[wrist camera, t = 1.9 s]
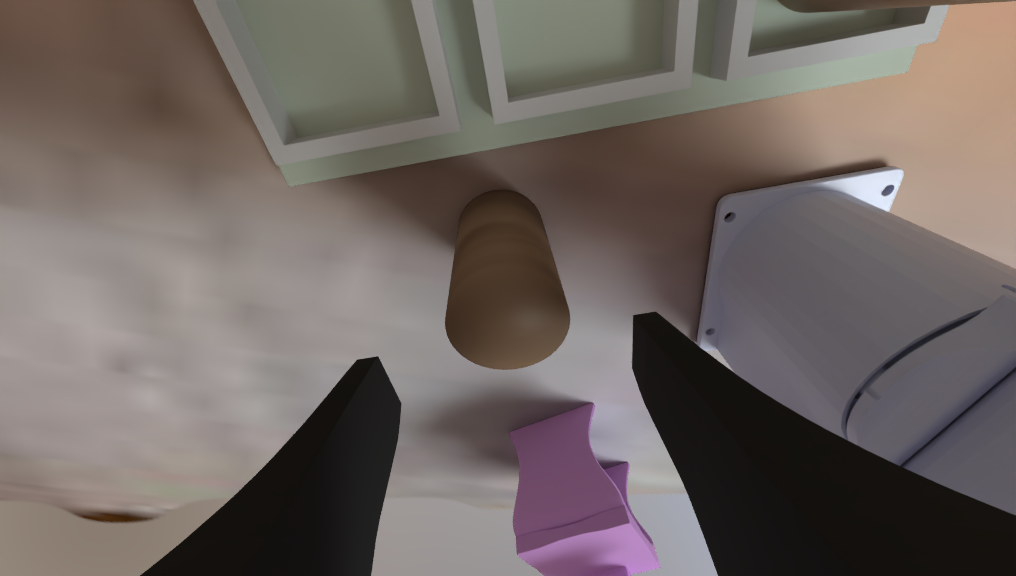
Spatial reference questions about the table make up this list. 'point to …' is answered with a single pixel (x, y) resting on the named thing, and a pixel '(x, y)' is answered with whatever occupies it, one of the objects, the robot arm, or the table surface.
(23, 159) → the table surface
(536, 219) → the walnut pin
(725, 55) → the pin board
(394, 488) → the table surface
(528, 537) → the toy chair
